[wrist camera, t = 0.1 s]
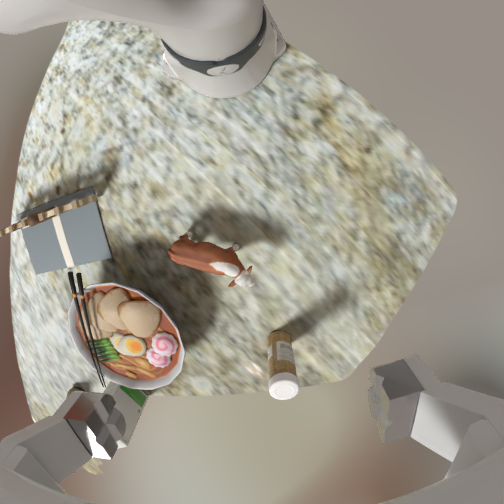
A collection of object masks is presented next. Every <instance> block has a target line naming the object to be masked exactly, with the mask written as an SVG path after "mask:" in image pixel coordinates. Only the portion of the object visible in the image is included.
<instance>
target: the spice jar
mask: <svg viewBox="0 0 504 504" xmlns="http://www.w3.org/2000/svg"><path fill="white" fill-rule="evenodd" d="M267 345H268V364H269V375H270V380H269V393H270V394H271V396H272V397H274V398H276V399H280V400H286V399H290V398H292V397H294V396H295V395H296V394H297V393H298V392H299V381H298V378H297V376H296V367H295V361H294V355H293V349H292V346H291V337H290V335H289V334H288V333H286V332H284V331H276V332H272V333H271V334H270V335H269V336H268V338H267Z"/></svg>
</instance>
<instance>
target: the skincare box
mask: <svg viewBox="0 0 504 504" xmlns="http://www.w3.org/2000/svg"><path fill="white" fill-rule="evenodd" d="M104 393H106V394H110V395H112V397H113V398H114V400H115V402H116V406H115V408H116V409H118V410H119V411H120V412H121V413H122V414H123V416H124V418H125V422H126V432H125V434H124V436H123V438H121V439H120V440H118V441H117V444H118V448H122V447H126V446H128V444H129V441H130V439H131V436H132V434H133V432H134V430H135V427H136V425H137V422H138V420H139V418H140V416H141V413H142V410H143V408H144V406H145V404H146V402H147V399H148V396H147V395H146V394H145V393H144V392H143V391H142V390H141V389H131V388H128V387H125V386H122V385H120V384H117V383H114V382H112V381H111V382H110V383H109V384H108V386H107V388H106V389H105V391H104ZM118 448H117V449H118Z"/></svg>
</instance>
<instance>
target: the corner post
mask: <svg viewBox="0 0 504 504" xmlns="http://www.w3.org/2000/svg"><path fill="white" fill-rule="evenodd" d="M53 208H56V207H55V206H53V207H50V208H47V209H44V210H42V211H39V212H36V213H34V214H31V215H29V216H28V217H27V223H28V225H29V226H30V227H33V226H35V225H37V224H39V223H42V222H44V221H46V220H49V219H51V218H54V217H56V216H57V215H56V216H55V215H54V216H52V217H49V218H47V219H44V220H42V221H39V217H38V214H40V213H42V212H45V211H48V210H50V209H53Z"/></svg>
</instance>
